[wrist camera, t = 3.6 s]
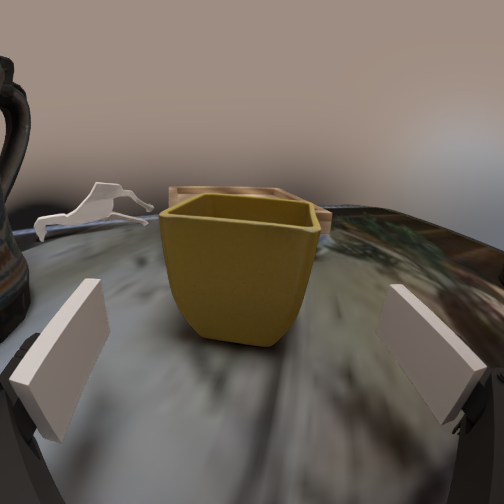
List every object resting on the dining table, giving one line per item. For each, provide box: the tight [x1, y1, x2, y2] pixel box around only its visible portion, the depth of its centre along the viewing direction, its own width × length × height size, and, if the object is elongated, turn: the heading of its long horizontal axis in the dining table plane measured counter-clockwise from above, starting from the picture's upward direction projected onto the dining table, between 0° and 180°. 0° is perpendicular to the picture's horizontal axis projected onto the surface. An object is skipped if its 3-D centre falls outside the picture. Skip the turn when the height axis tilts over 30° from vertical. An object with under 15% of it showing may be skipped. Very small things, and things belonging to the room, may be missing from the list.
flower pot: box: [159, 193, 321, 347], centre depth 21 cm, size 9×9×9 cm
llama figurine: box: [34, 182, 154, 242], centre depth 40 cm, size 2×11×18 cm
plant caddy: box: [169, 186, 332, 234], centre depth 40 cm, size 18×18×6 cm
